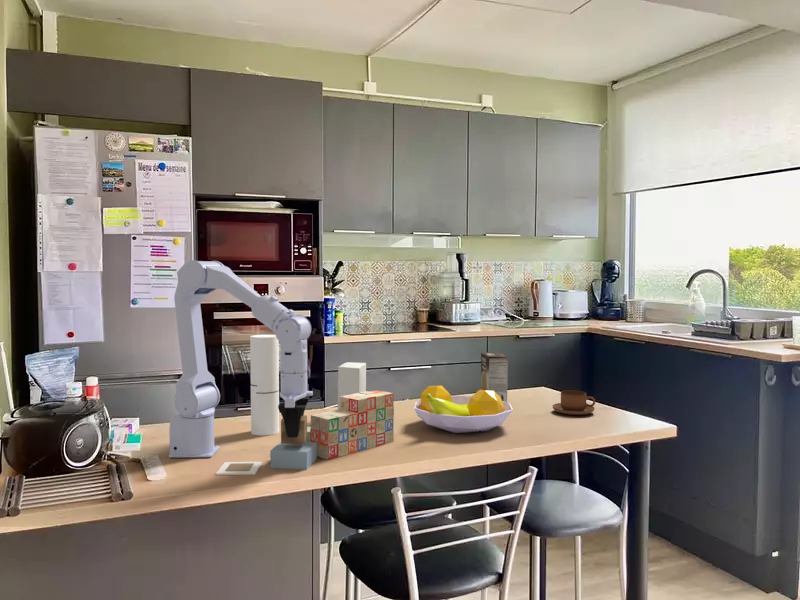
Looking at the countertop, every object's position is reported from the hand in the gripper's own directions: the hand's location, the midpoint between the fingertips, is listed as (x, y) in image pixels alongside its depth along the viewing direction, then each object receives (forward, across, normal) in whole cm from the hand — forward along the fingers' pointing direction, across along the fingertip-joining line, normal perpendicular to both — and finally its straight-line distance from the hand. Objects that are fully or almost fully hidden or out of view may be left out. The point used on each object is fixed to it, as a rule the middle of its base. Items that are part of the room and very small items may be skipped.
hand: (294, 433), depth 142 cm
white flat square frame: (+6, -4, +11) cm, 13 cm away
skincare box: (+7, +41, -11) cm, 43 cm away
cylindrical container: (+7, +27, +11) cm, 30 cm away
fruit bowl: (+7, +31, -40) cm, 51 cm away
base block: (+7, 0, 0) cm, 7 cm away
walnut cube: (+2, 0, 0) cm, 2 cm away
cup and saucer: (+7, +48, -76) cm, 90 cm away
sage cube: (+6, +10, -1) cm, 12 cm away
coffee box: (+7, +58, -54) cm, 80 cm away
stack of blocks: (+7, +12, -12) cm, 18 cm away
